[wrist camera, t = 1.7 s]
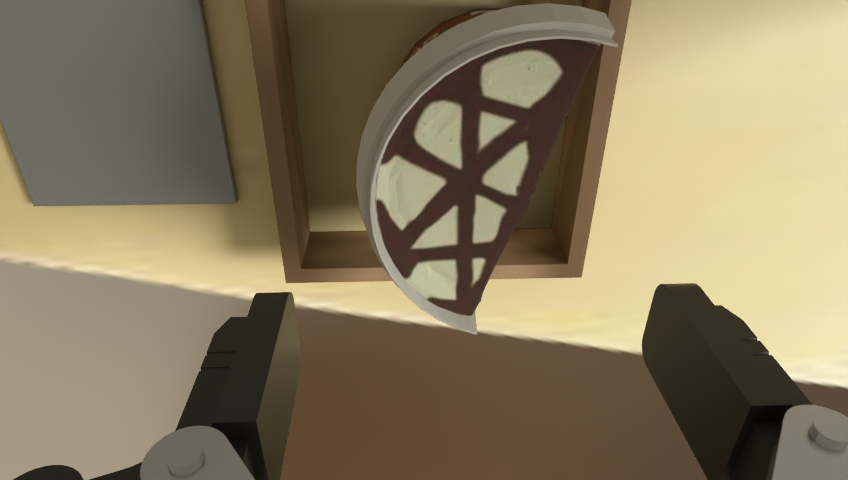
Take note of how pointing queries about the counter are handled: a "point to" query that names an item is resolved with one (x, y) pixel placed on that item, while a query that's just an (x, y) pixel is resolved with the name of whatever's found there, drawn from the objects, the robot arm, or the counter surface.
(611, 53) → the frame
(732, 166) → the counter surface
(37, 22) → the rubber mat
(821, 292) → the counter surface
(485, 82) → the food container
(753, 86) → the counter surface
